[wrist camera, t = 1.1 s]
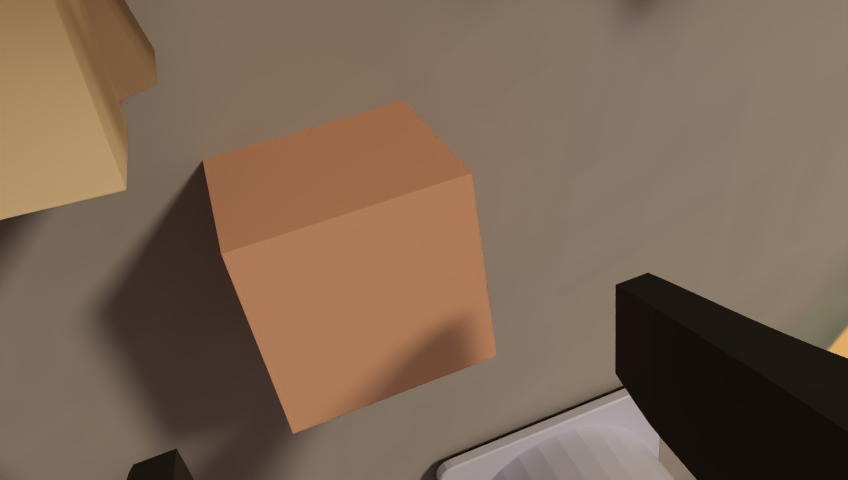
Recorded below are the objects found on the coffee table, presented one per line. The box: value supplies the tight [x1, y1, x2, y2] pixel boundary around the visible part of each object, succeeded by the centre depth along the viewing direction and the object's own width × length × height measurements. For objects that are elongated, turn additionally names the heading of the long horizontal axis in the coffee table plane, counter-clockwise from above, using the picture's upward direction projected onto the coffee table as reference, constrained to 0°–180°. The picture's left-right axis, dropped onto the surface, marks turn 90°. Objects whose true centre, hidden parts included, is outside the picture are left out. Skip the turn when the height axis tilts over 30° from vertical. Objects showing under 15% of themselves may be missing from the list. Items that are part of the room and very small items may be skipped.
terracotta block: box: [203, 102, 497, 434], centre depth 15 cm, size 4×4×4 cm
